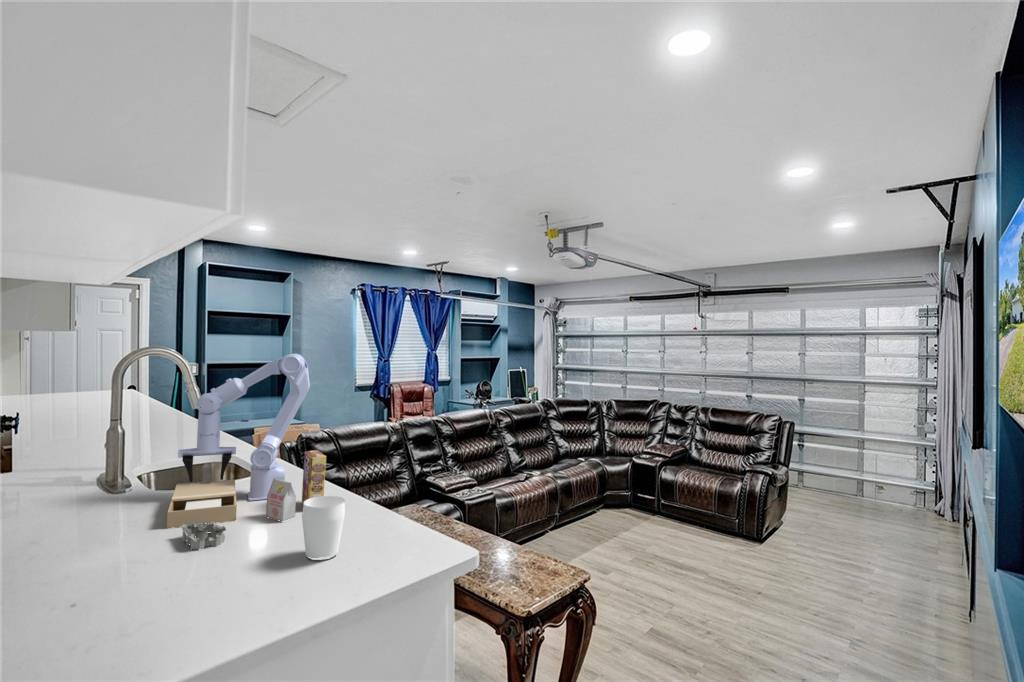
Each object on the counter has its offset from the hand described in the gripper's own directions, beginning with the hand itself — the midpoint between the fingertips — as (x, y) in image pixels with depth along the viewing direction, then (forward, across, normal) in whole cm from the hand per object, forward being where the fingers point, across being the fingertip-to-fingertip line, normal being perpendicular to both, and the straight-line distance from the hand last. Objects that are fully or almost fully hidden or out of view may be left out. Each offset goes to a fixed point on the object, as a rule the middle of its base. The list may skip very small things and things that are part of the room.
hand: (206, 480), depth 150 cm
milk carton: (+6, -18, +26) cm, 32 cm away
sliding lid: (+1, 0, +7) cm, 7 cm away
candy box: (+6, -27, +18) cm, 33 cm away
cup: (+6, -24, +54) cm, 60 cm away
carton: (+5, 0, +16) cm, 16 cm away
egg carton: (+6, 0, +36) cm, 36 cm away
